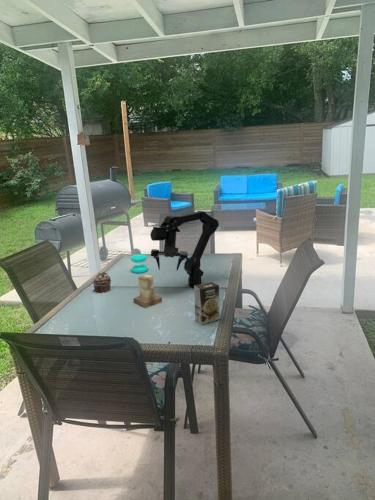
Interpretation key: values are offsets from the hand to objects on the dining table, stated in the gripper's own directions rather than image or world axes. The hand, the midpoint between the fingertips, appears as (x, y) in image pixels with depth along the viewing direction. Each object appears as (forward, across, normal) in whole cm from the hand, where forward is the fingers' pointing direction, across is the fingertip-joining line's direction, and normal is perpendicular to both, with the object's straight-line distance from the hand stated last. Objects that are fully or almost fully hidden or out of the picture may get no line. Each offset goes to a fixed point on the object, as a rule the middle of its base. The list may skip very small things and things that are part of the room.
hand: (168, 270), depth 202 cm
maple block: (+12, -9, -11) cm, 19 cm away
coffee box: (+13, +18, -36) cm, 42 cm away
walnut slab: (+15, -9, -11) cm, 21 cm away
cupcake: (+16, -35, +12) cm, 40 cm away
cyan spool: (+12, -17, +43) cm, 47 cm away
